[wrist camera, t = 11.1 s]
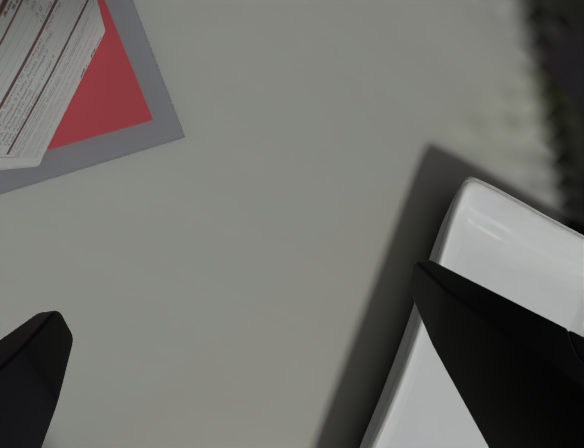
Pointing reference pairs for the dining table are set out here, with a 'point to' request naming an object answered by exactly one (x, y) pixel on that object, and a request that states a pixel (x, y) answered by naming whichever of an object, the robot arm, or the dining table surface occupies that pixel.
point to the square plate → (496, 277)
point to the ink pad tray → (108, 104)
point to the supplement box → (41, 70)
